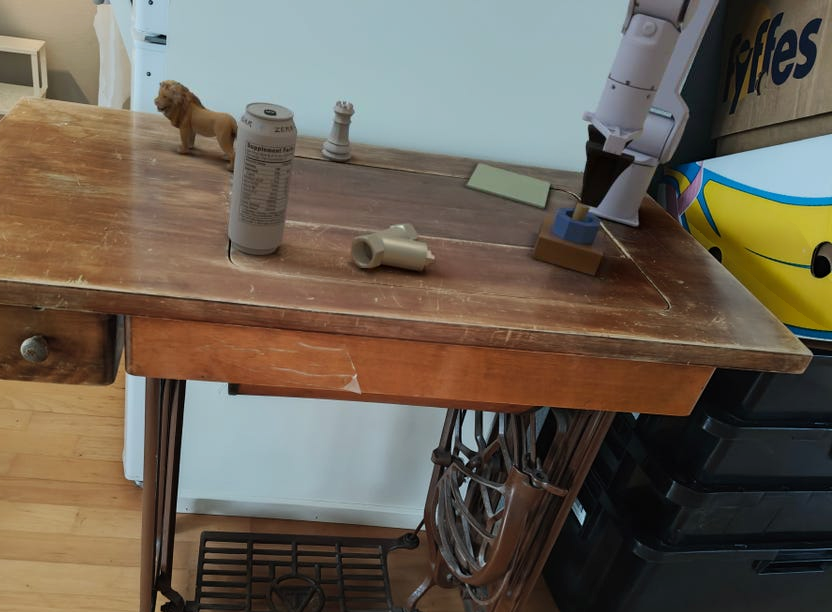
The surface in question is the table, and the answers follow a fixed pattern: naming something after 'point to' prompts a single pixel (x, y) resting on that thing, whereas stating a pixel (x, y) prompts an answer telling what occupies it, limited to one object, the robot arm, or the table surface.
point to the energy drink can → (261, 177)
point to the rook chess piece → (339, 133)
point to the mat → (509, 185)
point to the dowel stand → (568, 246)
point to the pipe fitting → (392, 249)
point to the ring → (575, 226)
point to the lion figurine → (196, 119)
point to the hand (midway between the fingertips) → (589, 195)
